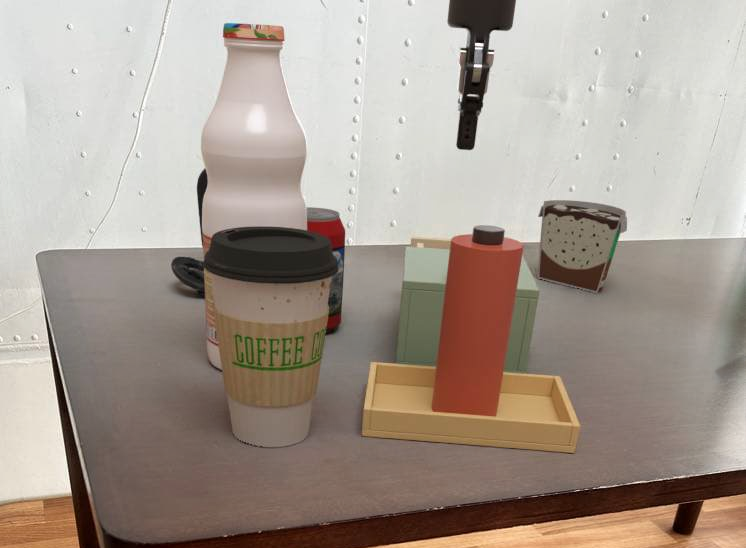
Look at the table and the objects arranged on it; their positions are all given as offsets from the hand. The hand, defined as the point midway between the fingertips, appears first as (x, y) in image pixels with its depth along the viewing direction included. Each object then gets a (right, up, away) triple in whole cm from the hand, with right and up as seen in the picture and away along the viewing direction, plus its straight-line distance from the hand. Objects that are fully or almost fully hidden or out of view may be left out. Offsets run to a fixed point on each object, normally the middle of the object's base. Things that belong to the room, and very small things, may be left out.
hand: (464, 148), depth 101 cm
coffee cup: (-21, -40, -35) cm, 57 cm away
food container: (+18, -13, +12) cm, 25 cm away
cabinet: (-3, -28, -15) cm, 32 cm away
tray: (-5, -38, -30) cm, 49 cm away
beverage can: (-19, -25, -11) cm, 33 cm away
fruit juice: (-24, -31, -21) cm, 44 cm away
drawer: (-2, -21, -4) cm, 21 cm away
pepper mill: (-5, -37, -31) cm, 49 cm away
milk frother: (-28, -16, +2) cm, 33 cm away
